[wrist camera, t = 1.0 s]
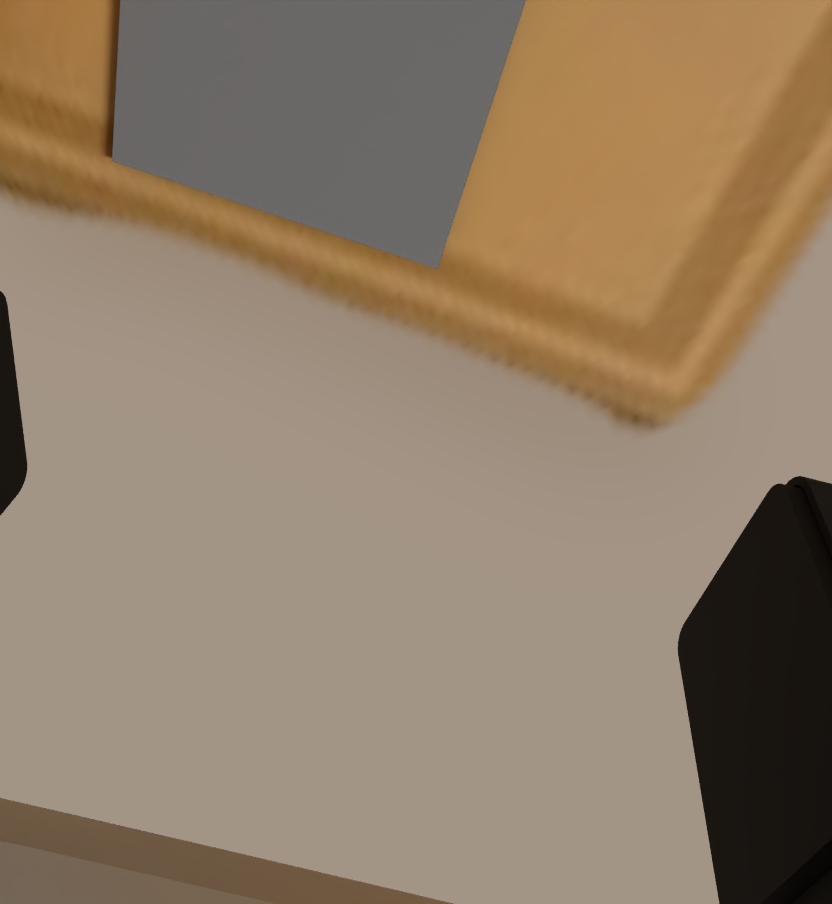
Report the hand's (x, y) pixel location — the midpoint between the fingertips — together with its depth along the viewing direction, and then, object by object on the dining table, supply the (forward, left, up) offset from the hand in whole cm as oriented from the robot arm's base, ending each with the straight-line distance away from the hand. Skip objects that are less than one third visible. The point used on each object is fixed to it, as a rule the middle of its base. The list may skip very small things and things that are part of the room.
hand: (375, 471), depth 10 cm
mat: (-5, -6, -29) cm, 30 cm away
